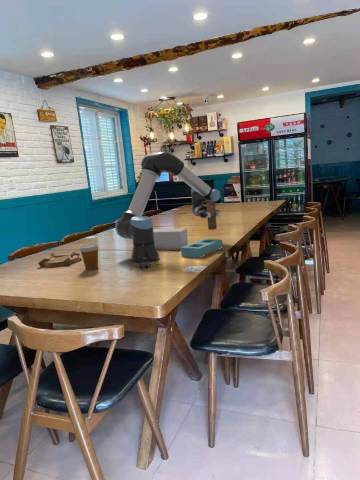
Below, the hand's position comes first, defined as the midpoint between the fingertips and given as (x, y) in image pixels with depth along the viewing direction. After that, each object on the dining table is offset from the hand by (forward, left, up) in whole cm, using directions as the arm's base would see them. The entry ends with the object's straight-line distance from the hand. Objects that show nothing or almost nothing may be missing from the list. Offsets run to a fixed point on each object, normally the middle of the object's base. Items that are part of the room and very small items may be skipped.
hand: (214, 214), depth 202 cm
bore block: (-12, +2, -20) cm, 23 cm away
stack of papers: (-6, +37, -20) cm, 43 cm away
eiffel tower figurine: (-49, +12, -20) cm, 54 cm away
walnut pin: (+3, +4, -9) cm, 10 cm away
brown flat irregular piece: (-59, +70, -20) cm, 94 cm away
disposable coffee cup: (-61, +39, -20) cm, 75 cm away
